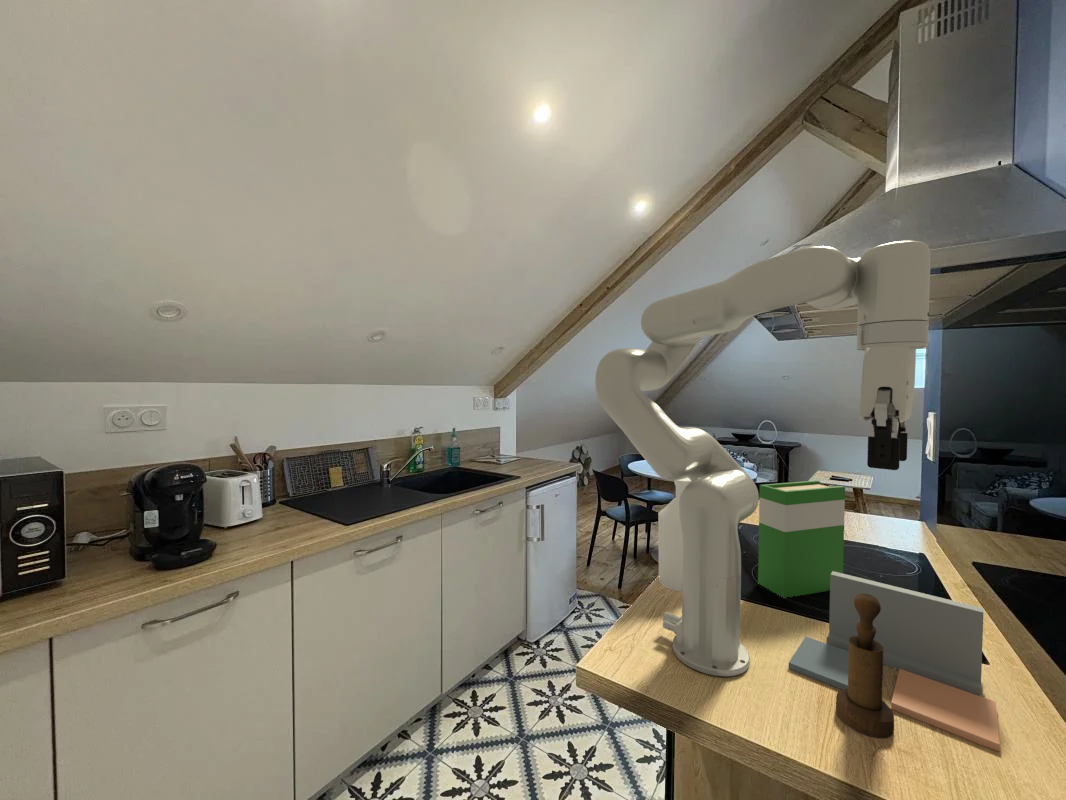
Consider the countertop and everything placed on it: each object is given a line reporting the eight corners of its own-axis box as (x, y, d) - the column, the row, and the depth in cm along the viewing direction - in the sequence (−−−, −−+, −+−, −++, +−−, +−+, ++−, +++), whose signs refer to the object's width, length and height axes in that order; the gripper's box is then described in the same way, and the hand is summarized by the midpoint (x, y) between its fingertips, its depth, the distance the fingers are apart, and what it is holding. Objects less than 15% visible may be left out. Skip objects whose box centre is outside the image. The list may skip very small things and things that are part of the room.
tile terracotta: (891, 709, 65) (891, 702, 65) (899, 674, 73) (899, 668, 73) (999, 752, 58) (999, 744, 58) (995, 708, 66) (995, 701, 66)
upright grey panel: (826, 644, 82) (828, 577, 81) (833, 632, 86) (835, 568, 86) (981, 698, 68) (983, 617, 67) (980, 679, 72) (982, 603, 72)
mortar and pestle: (829, 718, 64) (832, 593, 63) (842, 697, 68) (845, 580, 67) (888, 746, 59) (892, 611, 58) (898, 722, 63) (902, 596, 62)
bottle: (684, 597, 100) (686, 486, 99) (647, 577, 110) (648, 477, 110) (720, 586, 106) (721, 481, 105) (681, 568, 116) (682, 472, 115)
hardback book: (814, 575, 112) (816, 480, 111) (842, 588, 105) (845, 486, 104) (757, 584, 107) (759, 484, 106) (783, 598, 100) (785, 491, 99)
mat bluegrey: (788, 668, 75) (788, 662, 75) (805, 641, 83) (805, 636, 83) (869, 700, 67) (870, 694, 67) (880, 667, 75) (880, 662, 75)
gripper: (867, 344, 69) (864, 454, 70) (845, 334, 57) (842, 468, 57) (932, 341, 64) (928, 459, 64) (923, 329, 52) (919, 477, 52)
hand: (887, 463), depth 61 cm, fingers open, 9 cm apart
